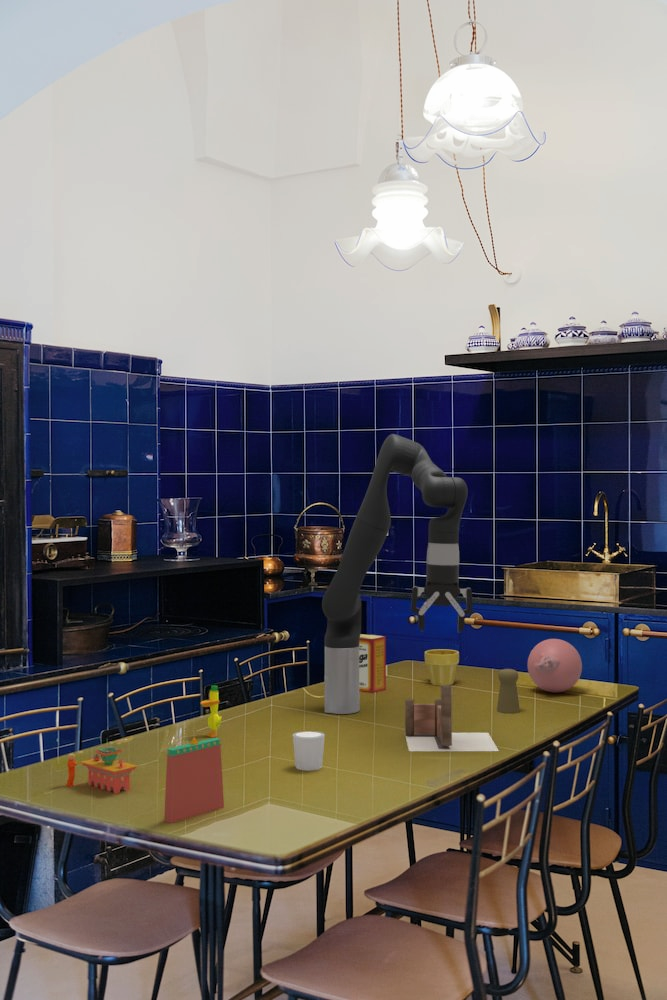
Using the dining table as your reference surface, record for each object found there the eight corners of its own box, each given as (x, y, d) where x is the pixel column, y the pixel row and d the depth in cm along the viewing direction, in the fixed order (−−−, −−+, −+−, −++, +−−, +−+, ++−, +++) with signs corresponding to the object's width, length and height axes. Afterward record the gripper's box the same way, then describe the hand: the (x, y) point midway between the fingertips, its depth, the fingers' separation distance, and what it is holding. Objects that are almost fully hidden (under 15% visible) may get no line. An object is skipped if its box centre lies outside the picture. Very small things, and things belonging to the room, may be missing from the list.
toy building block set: (171, 824, 189) (170, 744, 189) (58, 787, 213) (58, 716, 213) (224, 808, 198) (223, 732, 198) (110, 775, 222) (110, 706, 222)
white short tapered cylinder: (314, 772, 222) (314, 739, 222) (286, 768, 226) (286, 735, 226) (330, 765, 228) (330, 732, 228) (303, 761, 232) (303, 729, 232)
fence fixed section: (405, 736, 253) (405, 701, 253) (405, 734, 255) (404, 699, 255) (443, 736, 253) (443, 701, 253) (442, 734, 255) (442, 699, 255)
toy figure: (206, 740, 252) (206, 689, 251) (196, 737, 254) (196, 687, 254) (227, 734, 257) (226, 684, 257) (216, 732, 259) (216, 683, 259)
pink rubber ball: (511, 696, 304) (511, 642, 303) (540, 685, 320) (540, 633, 320) (562, 702, 295) (562, 646, 295) (590, 690, 311) (590, 638, 311)
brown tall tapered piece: (519, 708, 286) (519, 667, 286) (520, 713, 280) (520, 671, 280) (496, 708, 287) (496, 667, 287) (497, 713, 281) (497, 671, 281)
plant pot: (425, 687, 318) (425, 654, 318) (423, 680, 328) (423, 649, 328) (460, 687, 317) (460, 654, 317) (457, 681, 328) (457, 649, 328)
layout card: (409, 752, 239) (409, 750, 239) (404, 734, 257) (404, 732, 257) (499, 752, 239) (499, 750, 239) (488, 734, 257) (488, 732, 257)
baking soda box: (346, 689, 314) (346, 635, 314) (359, 686, 319) (359, 632, 319) (372, 693, 308) (372, 637, 308) (385, 689, 314) (385, 635, 313)
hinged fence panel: (434, 735, 252) (434, 677, 252) (444, 735, 252) (444, 677, 252) (441, 747, 240) (441, 687, 240) (452, 747, 240) (452, 687, 240)
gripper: (472, 562, 253) (470, 630, 254) (412, 560, 254) (410, 628, 255) (474, 564, 246) (472, 635, 246) (412, 562, 247) (410, 633, 247)
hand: (440, 631), depth 250 cm, fingers open, 8 cm apart
